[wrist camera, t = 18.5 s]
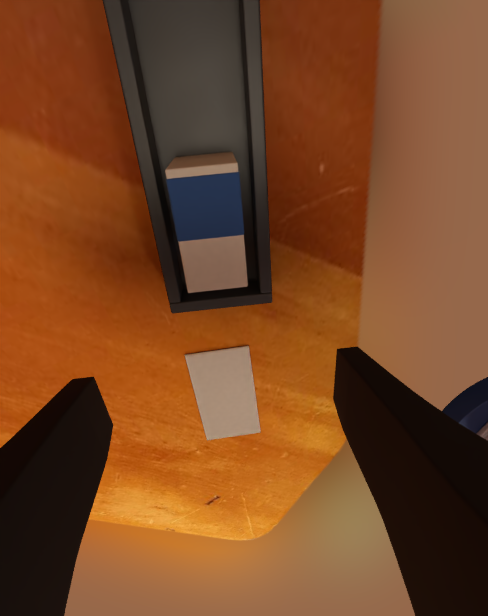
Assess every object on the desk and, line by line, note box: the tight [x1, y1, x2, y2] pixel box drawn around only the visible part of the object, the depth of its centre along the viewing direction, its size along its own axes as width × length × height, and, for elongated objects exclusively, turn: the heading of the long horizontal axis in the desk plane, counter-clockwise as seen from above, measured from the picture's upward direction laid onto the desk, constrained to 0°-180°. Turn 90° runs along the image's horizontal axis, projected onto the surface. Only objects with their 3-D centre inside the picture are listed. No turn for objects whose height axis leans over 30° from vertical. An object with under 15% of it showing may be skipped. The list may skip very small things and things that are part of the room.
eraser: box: [165, 152, 248, 293], centre depth 15 cm, size 5×3×4 cm, turn 4°
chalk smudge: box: [185, 346, 260, 440], centre depth 23 cm, size 8×4×1 cm, turn 7°
